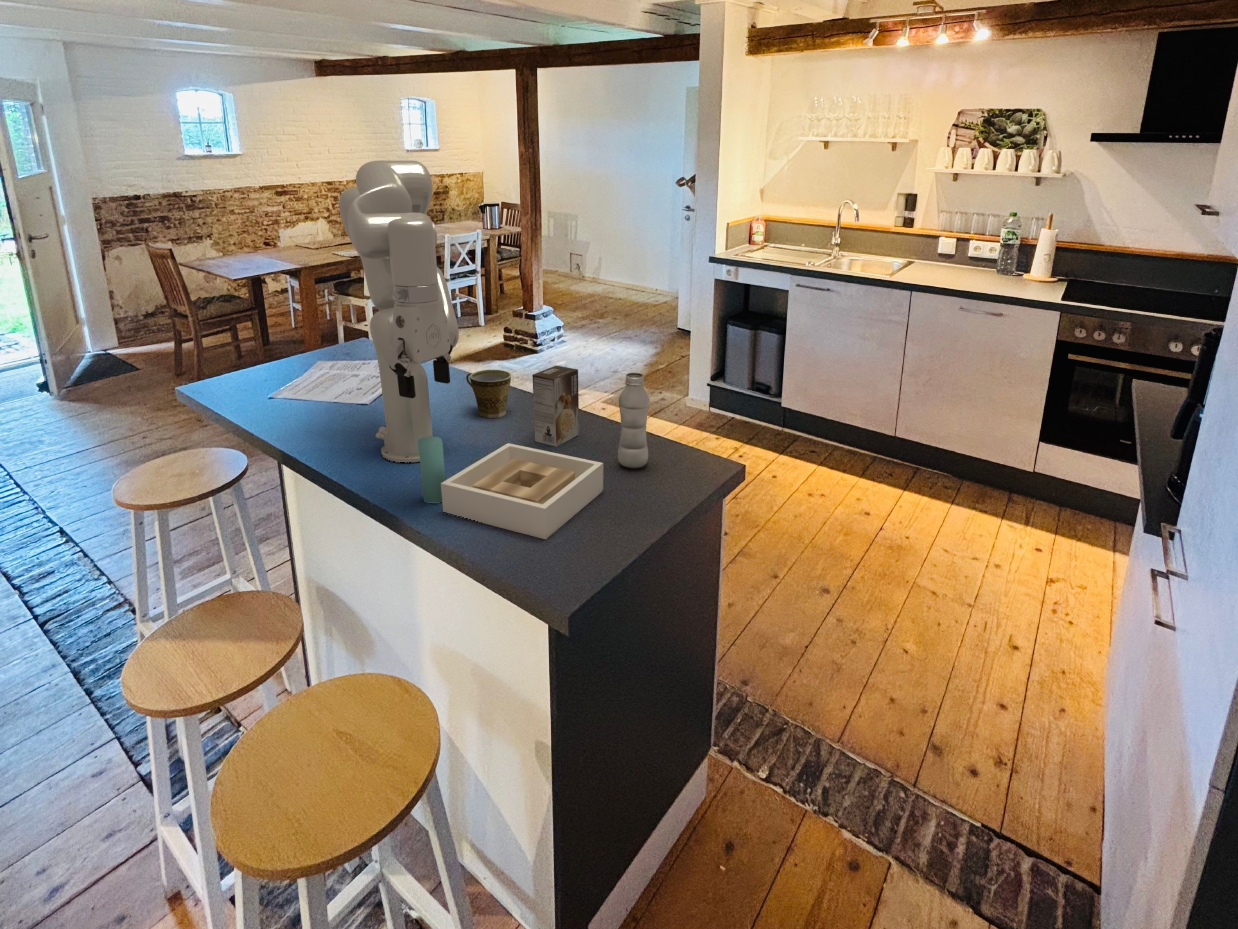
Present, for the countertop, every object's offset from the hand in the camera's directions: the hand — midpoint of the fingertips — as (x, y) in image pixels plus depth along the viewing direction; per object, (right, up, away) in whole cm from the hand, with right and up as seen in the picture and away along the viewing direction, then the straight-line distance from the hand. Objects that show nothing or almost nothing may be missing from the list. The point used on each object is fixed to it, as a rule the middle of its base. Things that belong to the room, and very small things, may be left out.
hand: (425, 389), depth 137 cm
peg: (0, -20, +9) cm, 22 cm away
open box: (+17, -21, +9) cm, 28 cm away
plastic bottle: (+38, -14, +25) cm, 47 cm away
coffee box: (+21, -8, +39) cm, 44 cm away
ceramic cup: (+2, -1, +54) cm, 54 cm away
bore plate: (+17, -21, +9) cm, 28 cm away
